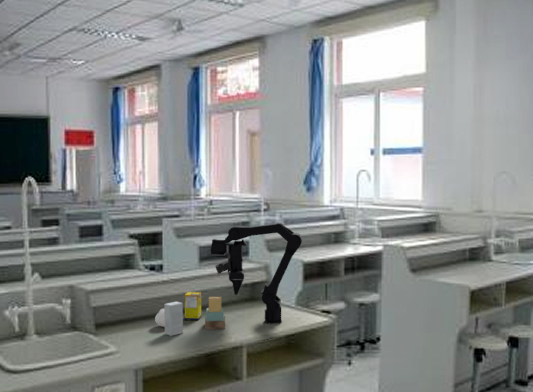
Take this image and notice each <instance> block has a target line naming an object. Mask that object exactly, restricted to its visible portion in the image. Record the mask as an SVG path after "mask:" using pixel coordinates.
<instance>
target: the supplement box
mask: <svg viewBox="0 0 533 392" xmlns="http://www.w3.org/2000/svg"><path fill="white" fill-rule="evenodd" d="M201 318H202V292H201V291H187V292H186V293H185V294H184V320H185V321H190V320H191V321H199V320H200V319H201Z"/></svg>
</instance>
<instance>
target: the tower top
mask: <svg viewBox="0 0 533 392" xmlns="http://www.w3.org/2000/svg"><path fill="white" fill-rule="evenodd" d="M224 310H225V309H224V307H221V312H209V307H207V308H206V311H205V317H206V321H223V320H224V316H225V315H224V314H225V313H224Z"/></svg>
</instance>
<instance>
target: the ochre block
mask: <svg viewBox="0 0 533 392" xmlns="http://www.w3.org/2000/svg"><path fill="white" fill-rule="evenodd" d="M208 308H209V312H221V308H222V296H209V297H208Z"/></svg>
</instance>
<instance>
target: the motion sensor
mask: <svg viewBox="0 0 533 392" xmlns="http://www.w3.org/2000/svg"><path fill="white" fill-rule="evenodd" d="M154 320H155V323H156V325H158V326H160V327H163V328H165V312H164V308H161V309H159V311H158V313H157V314H156V315H155V318H154Z"/></svg>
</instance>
